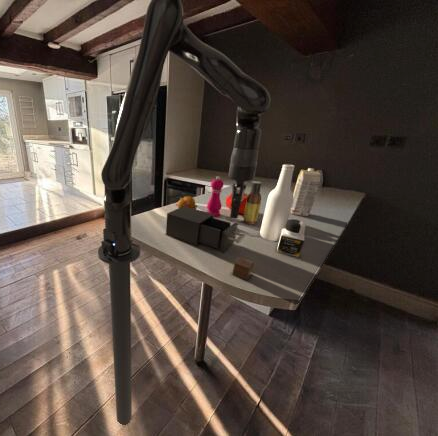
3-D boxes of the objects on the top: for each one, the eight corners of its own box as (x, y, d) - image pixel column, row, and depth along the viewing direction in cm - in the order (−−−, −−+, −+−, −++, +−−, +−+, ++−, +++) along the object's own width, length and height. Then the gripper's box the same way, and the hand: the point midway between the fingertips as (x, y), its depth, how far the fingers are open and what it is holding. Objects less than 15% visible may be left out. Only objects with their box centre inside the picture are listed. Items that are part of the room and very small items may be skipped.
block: (246, 280, 70) (249, 268, 68) (232, 274, 72) (234, 262, 71) (251, 274, 73) (254, 262, 71) (237, 268, 76) (239, 257, 74)
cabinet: (211, 235, 98) (214, 214, 94) (196, 245, 89) (199, 223, 85) (181, 225, 107) (183, 205, 103) (165, 234, 98) (167, 213, 94)
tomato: (235, 205, 135) (238, 188, 131) (260, 214, 122) (264, 196, 118) (218, 209, 128) (220, 192, 124) (243, 219, 115) (246, 200, 111)
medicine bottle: (276, 251, 86) (284, 222, 82) (278, 244, 92) (285, 216, 87) (299, 257, 83) (308, 227, 78) (299, 249, 88) (308, 220, 84)
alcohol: (255, 234, 99) (270, 164, 88) (267, 230, 103) (284, 162, 92) (274, 243, 92) (293, 167, 81) (287, 238, 96) (307, 166, 85)
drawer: (245, 244, 89) (249, 226, 86) (234, 256, 81) (238, 236, 78) (203, 231, 99) (205, 214, 96) (190, 240, 91) (191, 222, 88)
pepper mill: (217, 217, 116) (223, 178, 109) (204, 214, 120) (208, 176, 112) (221, 213, 122) (227, 175, 115) (208, 210, 126) (213, 174, 118)
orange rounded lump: (201, 212, 123) (201, 195, 118) (190, 222, 117) (189, 205, 111) (185, 207, 129) (184, 191, 124) (174, 216, 123) (172, 200, 117)
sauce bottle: (251, 219, 115) (259, 180, 108) (259, 224, 110) (268, 183, 102) (239, 220, 114) (247, 180, 106) (247, 225, 108) (255, 183, 101)
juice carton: (308, 212, 126) (321, 168, 117) (309, 217, 119) (324, 171, 110) (288, 209, 130) (300, 166, 121) (289, 214, 123) (301, 169, 114)
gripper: (232, 159, 77) (225, 205, 84) (227, 166, 65) (220, 219, 72) (256, 161, 75) (247, 208, 81) (256, 168, 63) (246, 223, 69)
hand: (234, 213), depth 76 cm, fingers open, 8 cm apart
